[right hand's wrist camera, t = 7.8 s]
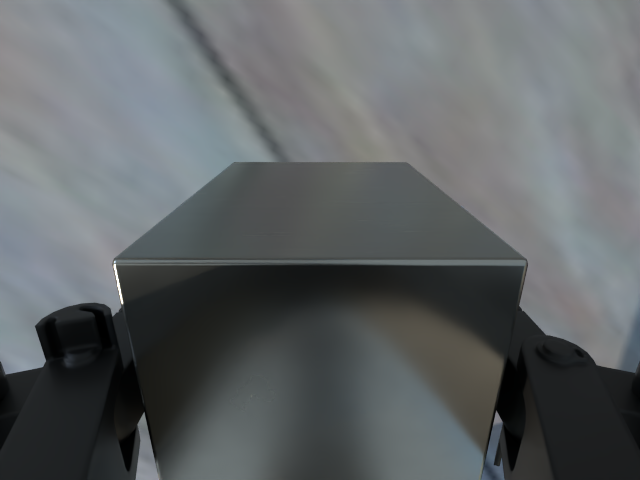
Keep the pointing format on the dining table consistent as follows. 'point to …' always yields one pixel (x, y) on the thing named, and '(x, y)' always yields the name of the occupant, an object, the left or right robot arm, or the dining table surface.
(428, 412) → the box
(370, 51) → the dining table surface
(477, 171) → the dining table surface
